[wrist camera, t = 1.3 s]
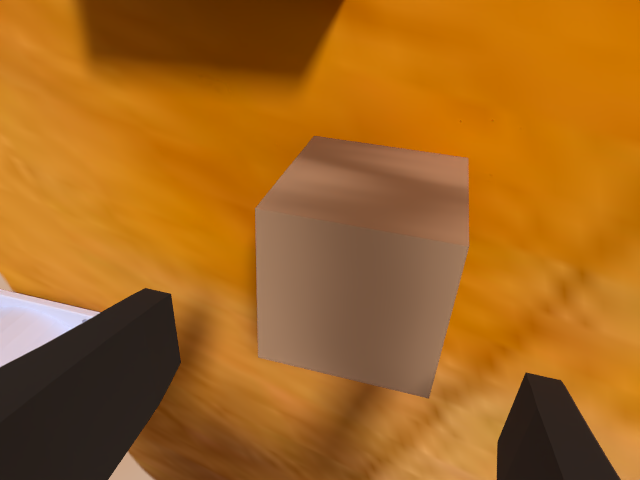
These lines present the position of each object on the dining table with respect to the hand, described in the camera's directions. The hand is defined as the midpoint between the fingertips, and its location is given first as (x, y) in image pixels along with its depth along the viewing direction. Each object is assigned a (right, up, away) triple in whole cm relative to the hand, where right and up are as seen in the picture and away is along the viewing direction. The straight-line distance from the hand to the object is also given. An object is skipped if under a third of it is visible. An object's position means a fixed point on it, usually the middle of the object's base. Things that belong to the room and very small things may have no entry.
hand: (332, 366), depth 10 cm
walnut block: (+2, +3, +6) cm, 7 cm away
